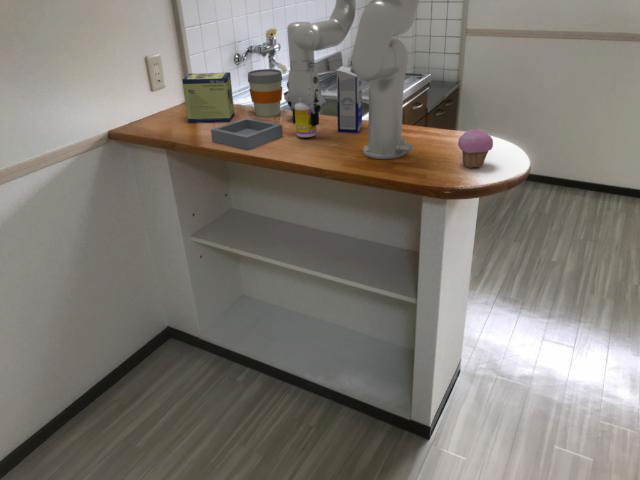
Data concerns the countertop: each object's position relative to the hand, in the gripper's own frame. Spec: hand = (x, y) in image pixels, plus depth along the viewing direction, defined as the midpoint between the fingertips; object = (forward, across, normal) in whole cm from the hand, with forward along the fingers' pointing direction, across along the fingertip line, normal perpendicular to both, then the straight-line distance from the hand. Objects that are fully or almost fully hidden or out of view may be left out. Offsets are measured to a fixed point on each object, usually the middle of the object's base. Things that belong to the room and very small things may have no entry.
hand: (306, 123), depth 172 cm
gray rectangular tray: (+4, +15, +12) cm, 19 cm away
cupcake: (+6, -55, -3) cm, 56 cm away
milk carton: (+5, -7, -14) cm, 16 cm away
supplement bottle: (+4, 0, 0) cm, 4 cm away
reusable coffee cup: (+4, +31, -15) cm, 34 cm away
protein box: (+4, +44, +1) cm, 44 cm away
